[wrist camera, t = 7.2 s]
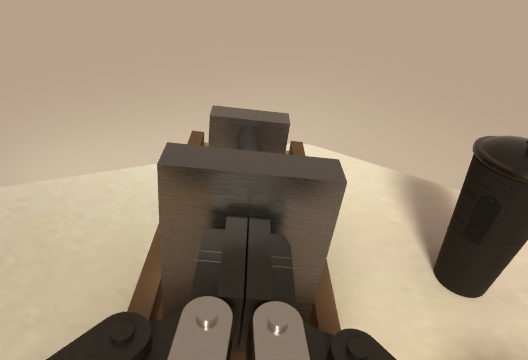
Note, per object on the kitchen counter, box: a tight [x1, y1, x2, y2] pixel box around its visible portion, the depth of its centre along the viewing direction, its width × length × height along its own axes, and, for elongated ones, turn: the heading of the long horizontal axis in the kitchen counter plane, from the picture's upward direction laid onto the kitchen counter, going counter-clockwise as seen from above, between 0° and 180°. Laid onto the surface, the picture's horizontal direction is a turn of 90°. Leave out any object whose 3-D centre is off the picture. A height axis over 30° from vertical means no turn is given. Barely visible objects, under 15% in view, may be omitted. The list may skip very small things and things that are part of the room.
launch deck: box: [127, 131, 341, 360], centre depth 26 cm, size 10×24×12 cm, turn 0°
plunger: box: [157, 106, 347, 348], centre depth 22 cm, size 6×18×9 cm, turn 0°
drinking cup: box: [434, 136, 528, 298], centre depth 32 cm, size 8×8×20 cm
